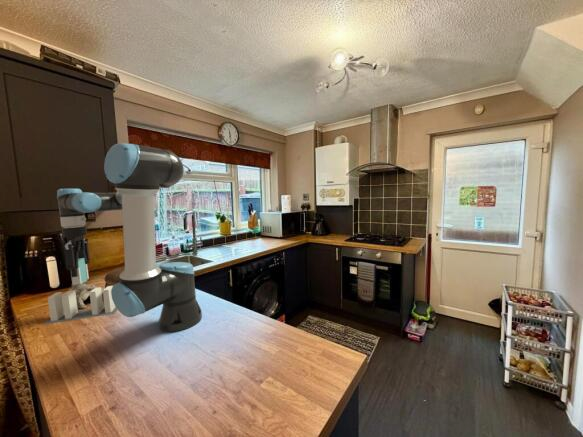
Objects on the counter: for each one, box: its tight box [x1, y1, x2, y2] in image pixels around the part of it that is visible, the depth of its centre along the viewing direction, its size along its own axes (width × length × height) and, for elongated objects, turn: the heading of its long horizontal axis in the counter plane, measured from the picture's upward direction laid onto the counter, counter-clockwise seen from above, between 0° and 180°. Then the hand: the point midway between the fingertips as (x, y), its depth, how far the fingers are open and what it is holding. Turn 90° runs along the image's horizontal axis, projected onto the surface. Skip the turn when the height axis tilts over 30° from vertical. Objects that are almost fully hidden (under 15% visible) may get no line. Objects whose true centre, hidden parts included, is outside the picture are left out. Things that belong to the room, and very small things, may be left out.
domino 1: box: [47, 291, 65, 321], centre depth 97 cm, size 2×5×10 cm, turn 18°
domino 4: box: [102, 286, 116, 313], centre depth 103 cm, size 2×5×10 cm, turn 18°
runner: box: [41, 306, 119, 326], centre depth 101 cm, size 24×9×1 cm, turn 108°
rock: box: [65, 283, 105, 310], centre depth 115 cm, size 24×9×15 cm
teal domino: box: [75, 258, 88, 285], centre depth 99 cm, size 2×5×10 cm, turn 17°
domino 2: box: [62, 290, 79, 319], centre depth 99 cm, size 2×5×10 cm, turn 18°
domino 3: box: [89, 286, 104, 315], centre depth 101 cm, size 2×5×10 cm, turn 17°
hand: (80, 281), depth 99 cm, fingers closed on teal domino, 5 cm apart
